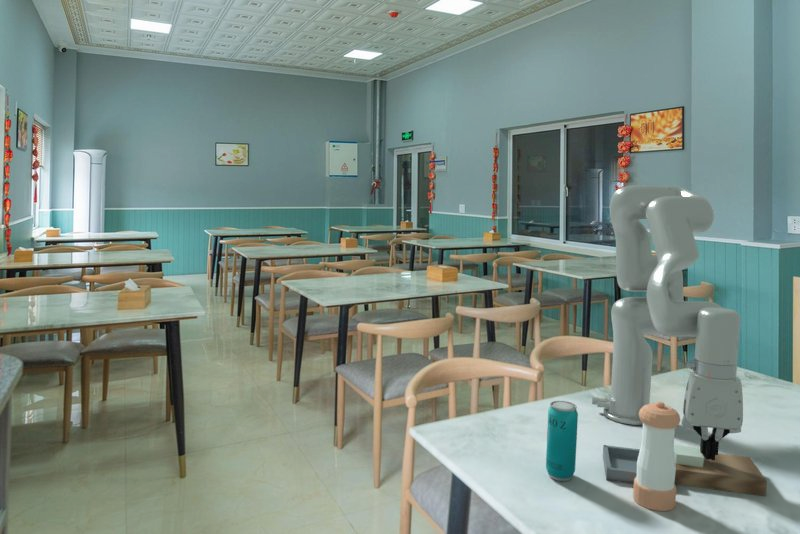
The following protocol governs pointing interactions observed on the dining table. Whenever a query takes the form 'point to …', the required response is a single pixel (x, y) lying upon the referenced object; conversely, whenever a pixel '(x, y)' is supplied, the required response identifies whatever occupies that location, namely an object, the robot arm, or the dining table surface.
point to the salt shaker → (656, 458)
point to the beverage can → (561, 440)
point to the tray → (620, 463)
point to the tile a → (688, 456)
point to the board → (724, 475)
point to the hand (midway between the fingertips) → (708, 457)
